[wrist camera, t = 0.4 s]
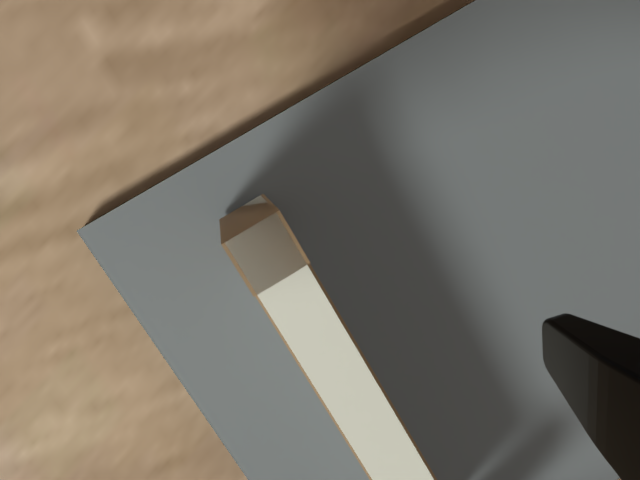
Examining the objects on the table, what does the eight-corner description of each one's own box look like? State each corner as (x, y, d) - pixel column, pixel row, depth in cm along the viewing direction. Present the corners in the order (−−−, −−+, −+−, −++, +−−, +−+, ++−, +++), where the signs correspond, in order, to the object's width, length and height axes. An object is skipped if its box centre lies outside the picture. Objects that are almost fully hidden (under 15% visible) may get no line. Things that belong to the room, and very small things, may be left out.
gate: (450, 510, 23) (514, 609, 18) (413, 533, 23) (468, 640, 18) (263, 193, 19) (279, 209, 15) (219, 219, 19) (220, 244, 14)
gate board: (772, 353, 26) (990, 434, 19) (357, 627, 24) (419, 833, 17) (608, -77, 21) (812, -191, 14) (83, 226, 20) (6, 274, 12)
